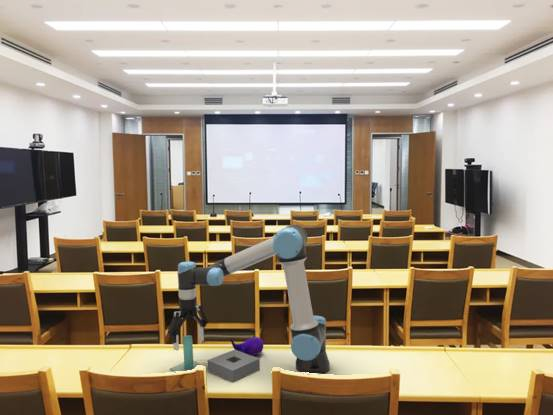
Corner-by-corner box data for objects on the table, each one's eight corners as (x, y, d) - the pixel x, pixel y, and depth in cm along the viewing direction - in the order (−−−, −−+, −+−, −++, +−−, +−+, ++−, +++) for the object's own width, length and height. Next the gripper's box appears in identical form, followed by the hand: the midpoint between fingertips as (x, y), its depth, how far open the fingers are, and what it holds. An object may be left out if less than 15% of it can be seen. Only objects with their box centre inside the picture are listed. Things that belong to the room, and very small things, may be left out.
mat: (208, 368, 207) (208, 367, 207) (186, 377, 199) (186, 376, 199) (191, 361, 215) (191, 359, 215) (169, 369, 207) (169, 368, 207)
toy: (232, 361, 218) (264, 356, 219) (229, 341, 217) (262, 336, 218) (233, 353, 227) (264, 349, 227) (230, 334, 226) (261, 330, 226)
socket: (259, 369, 206) (259, 358, 205) (232, 382, 194) (232, 370, 194) (234, 360, 217) (234, 349, 216) (207, 371, 205) (207, 360, 204)
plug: (195, 367, 207) (194, 336, 206) (188, 370, 204) (186, 339, 203) (189, 364, 210) (188, 334, 208) (182, 368, 207) (180, 337, 205)
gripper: (204, 290, 216) (205, 335, 218) (158, 302, 198) (159, 351, 199) (215, 293, 211) (216, 339, 213) (168, 305, 193) (170, 355, 194)
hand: (189, 345), depth 206 cm, fingers open, 13 cm apart
